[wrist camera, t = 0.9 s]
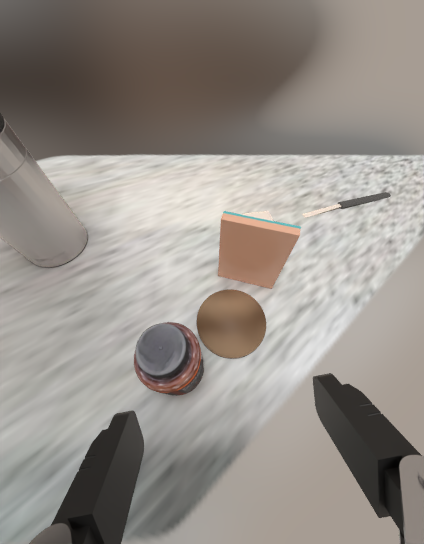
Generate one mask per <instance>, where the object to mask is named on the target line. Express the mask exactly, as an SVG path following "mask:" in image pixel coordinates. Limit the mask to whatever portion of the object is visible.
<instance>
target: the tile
mask: <svg viewBox="0 0 424 544" xmlns="http://www.w3.org/2000/svg"><path fill="white" fill-rule="evenodd" d="M300 228H301V227H300V226H295V225H290V224H285V223H280V222H275V221H270V220H265V219H260V218H255V217H251V216H246V215H241V214H236V213H231V212H226V211H224V212H223V215H222V218H221V230H220V249H219V269H218V276H221V277H225V278H229V279H233V280H237V281H242V282H246V283H250V284H254V285H258V286H262V287H266V288H270V289H272V287H273V285H274V283H275V281H276V280H277V278H278V276H279V274H280V272H281V270H282V268H283V266H284V264H285V262H286V261H287V259H288V257H289V255H290V253H291V251H292V249H293V247H294V245H295V243H296V242H297V240H298V238H299V236H300Z"/></svg>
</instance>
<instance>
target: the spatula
mask: <svg viewBox="0 0 424 544" xmlns="http://www.w3.org/2000/svg"><path fill="white" fill-rule="evenodd" d="M390 196H391V195H390V194H389V193H387V192H385V193H380V194H375V195H371V196H366V197H361V198H357V199H352V200H347V201H343V202H338V204H337V205H333V206H330V207H326V208H323V209H319V210H315V211H312V212H308V213H305V214H302V215H303V216H304V217H305V218H306V217H309V216H313V215H317V214H320V213H323V212H326V211H330V210H333V209H336V208H339V207H340V208H346V207H351V206H355V205H360V204H364V203H368V202H372V201H377V200H380V199H384V198H388V197H390ZM241 215H246V216H251V217H255V218H260V219H265V220H270V221H274V220H273V219H272V217H271V215H270V213H269V211H261V212H252V213H244V214H241Z"/></svg>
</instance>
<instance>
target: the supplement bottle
mask: <svg viewBox="0 0 424 544" xmlns="http://www.w3.org/2000/svg"><path fill="white" fill-rule="evenodd" d="M134 367H135V371H136V373H137V376H138V378H139V379H140V381H141V382H142V383H143V384H144V385H145V386H147V387H148V388H149V389H151V390H154V391H156V392H160V393H165V394H169V395H183V394H186V393H188V392H190V391H192V390H193V389H194V388H195V387H196V386H197V385H198V384H199V382H200V380H201V378H202V376H203V371H204V361H203V357H202V353H201V349H200V346H199V342H198V340H197V338H196V337H195V335H194V334H193V332H192V331H191V330H189V329H188V328H187V327H185V326H184V325H182V324H178V323H173V322H167V323H161V324H156V325H154V326H151V327H150V328H148V329H147V330H146V331H144V332H143V334H142V335H141V337H140V338H139V340H138V342H137V345H136V350H135V354H134Z"/></svg>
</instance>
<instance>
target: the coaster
mask: <svg viewBox="0 0 424 544" xmlns="http://www.w3.org/2000/svg"><path fill="white" fill-rule="evenodd" d="M197 329H198V333H199V336H200V338H201V340H202V342H203V343H204V345H205V346H206V347H207V348H208V349H209V350H210V351H212V352H213V353H215V354H216V355H219V356H221V357H225V358H240V357H244V356H246V355H248V354H250V353H251V352H253V351H254V350H255V349H256V348H257V347H258V346H259V345H260V343H261V341H262V340H263V338H264V335H265V331H266V318H265V315H264V312H263V310H262V308H261V306H260V305H259V303H258V302H257V301H256V300H255V299H254V298H252V297H251V296H250V295H248V294H246V293H244V292H241V291H238V290H222V291H219V292H216V293H214V294H212V295H211V296H209V297H208V298H207V299H206V300H205V301H204V302H203V304H202V305H201V307H200V309H199V312H198V315H197Z"/></svg>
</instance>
